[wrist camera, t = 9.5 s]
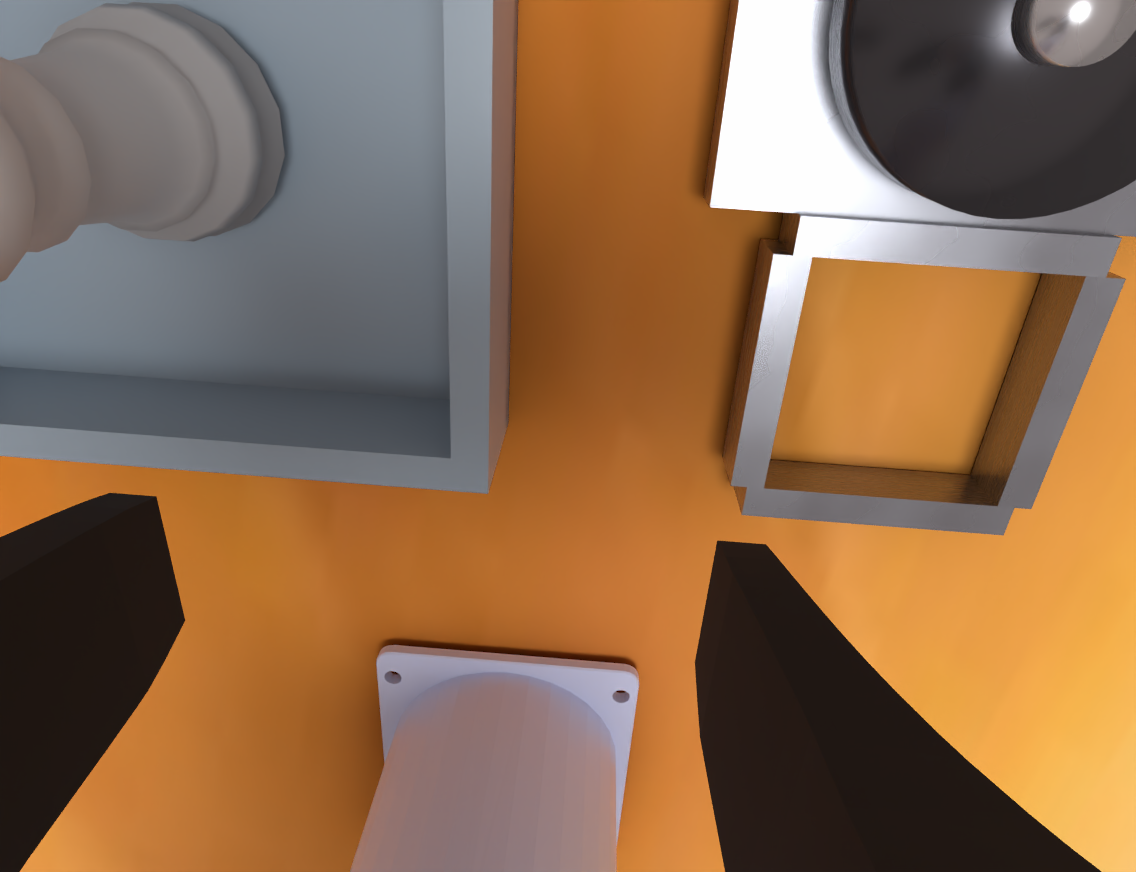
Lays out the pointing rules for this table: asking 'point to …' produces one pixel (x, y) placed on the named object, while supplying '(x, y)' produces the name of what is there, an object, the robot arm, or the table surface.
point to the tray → (298, 269)
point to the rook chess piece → (134, 131)
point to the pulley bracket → (927, 212)
